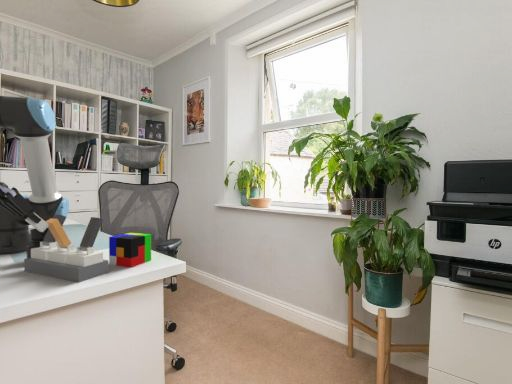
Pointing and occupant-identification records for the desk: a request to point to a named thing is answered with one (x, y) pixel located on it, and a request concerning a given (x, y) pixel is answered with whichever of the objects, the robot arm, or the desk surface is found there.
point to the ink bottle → (35, 240)
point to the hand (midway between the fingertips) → (44, 228)
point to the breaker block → (68, 256)
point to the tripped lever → (58, 233)
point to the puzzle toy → (129, 249)
